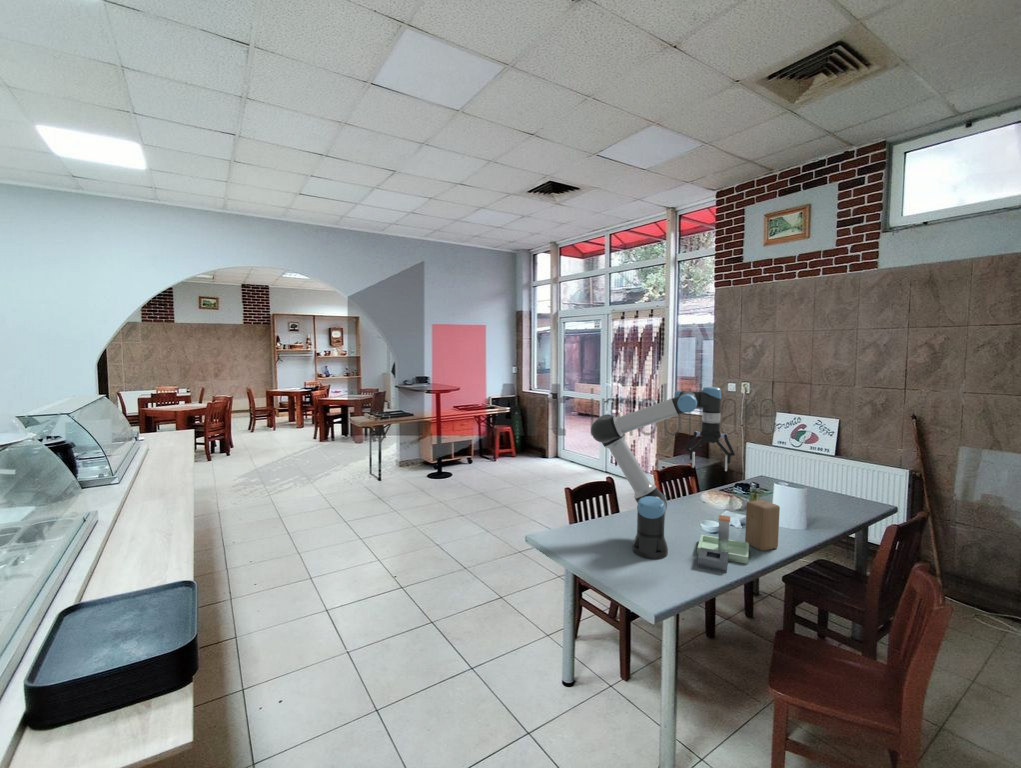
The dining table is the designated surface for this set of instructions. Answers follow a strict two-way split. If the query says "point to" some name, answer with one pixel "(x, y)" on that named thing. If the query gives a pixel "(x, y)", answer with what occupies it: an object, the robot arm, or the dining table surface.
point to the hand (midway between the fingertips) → (709, 468)
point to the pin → (723, 533)
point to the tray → (736, 548)
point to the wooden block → (762, 524)
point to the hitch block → (713, 559)
